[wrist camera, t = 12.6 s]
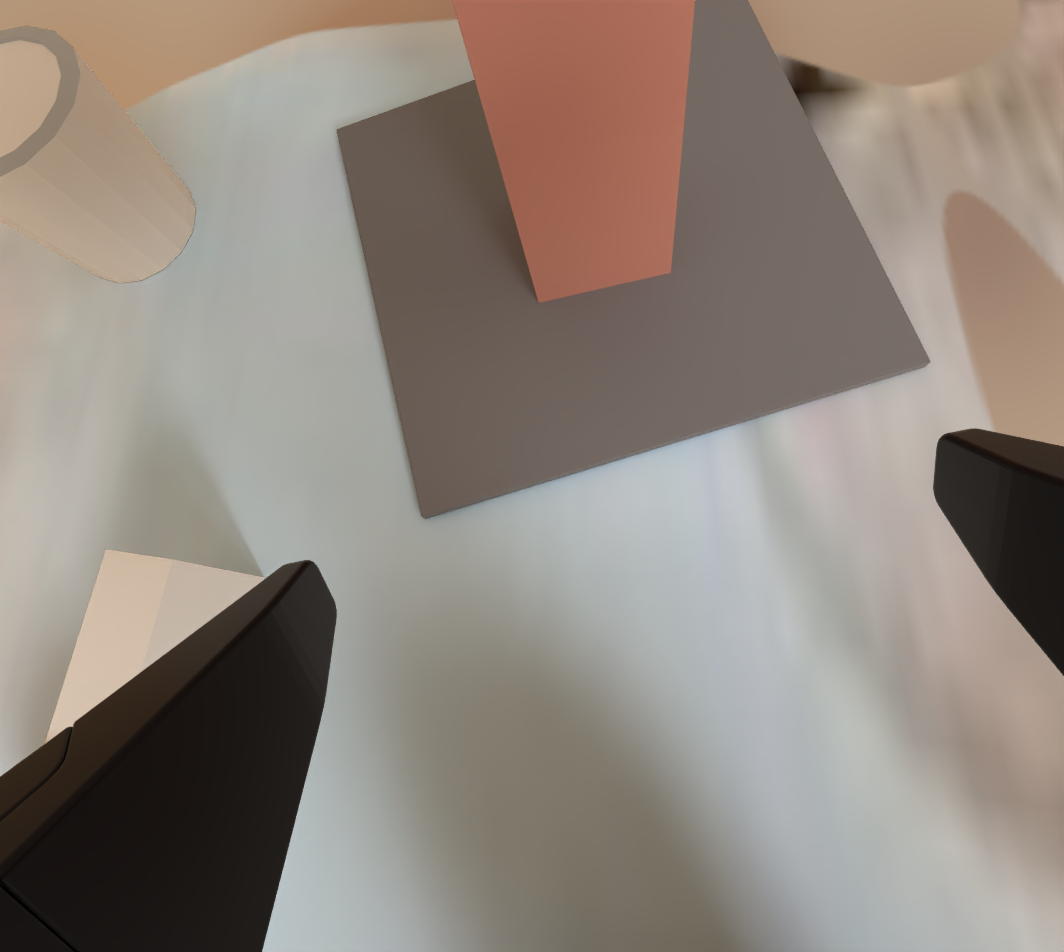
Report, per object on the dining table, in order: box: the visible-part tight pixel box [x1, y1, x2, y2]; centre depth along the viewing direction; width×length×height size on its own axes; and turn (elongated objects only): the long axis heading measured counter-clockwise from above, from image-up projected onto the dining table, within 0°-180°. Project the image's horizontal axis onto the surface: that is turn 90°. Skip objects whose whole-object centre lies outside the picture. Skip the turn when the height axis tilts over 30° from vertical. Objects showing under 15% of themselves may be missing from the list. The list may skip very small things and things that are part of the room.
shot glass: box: [0, 26, 196, 283], centre depth 25 cm, size 7×7×7 cm
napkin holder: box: [45, 549, 264, 743], centre depth 20 cm, size 15×11×6 cm
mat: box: [337, 0, 930, 519], centre depth 25 cm, size 18×18×1 cm
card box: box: [452, 0, 695, 303], centre depth 18 cm, size 5×5×13 cm
